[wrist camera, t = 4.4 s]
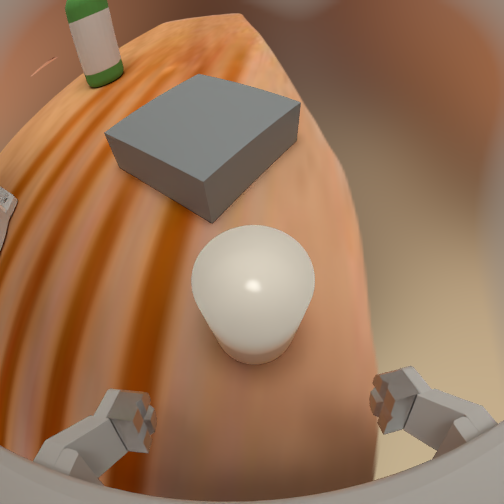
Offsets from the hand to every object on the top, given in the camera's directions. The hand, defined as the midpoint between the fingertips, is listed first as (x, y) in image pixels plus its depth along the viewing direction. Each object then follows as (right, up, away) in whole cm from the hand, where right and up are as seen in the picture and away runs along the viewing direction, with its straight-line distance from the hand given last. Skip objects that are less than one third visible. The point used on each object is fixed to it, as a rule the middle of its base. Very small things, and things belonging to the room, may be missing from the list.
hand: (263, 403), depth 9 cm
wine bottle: (-29, +39, +35) cm, 59 cm away
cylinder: (0, 0, +11) cm, 11 cm away
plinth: (-5, +16, +20) cm, 26 cm away
